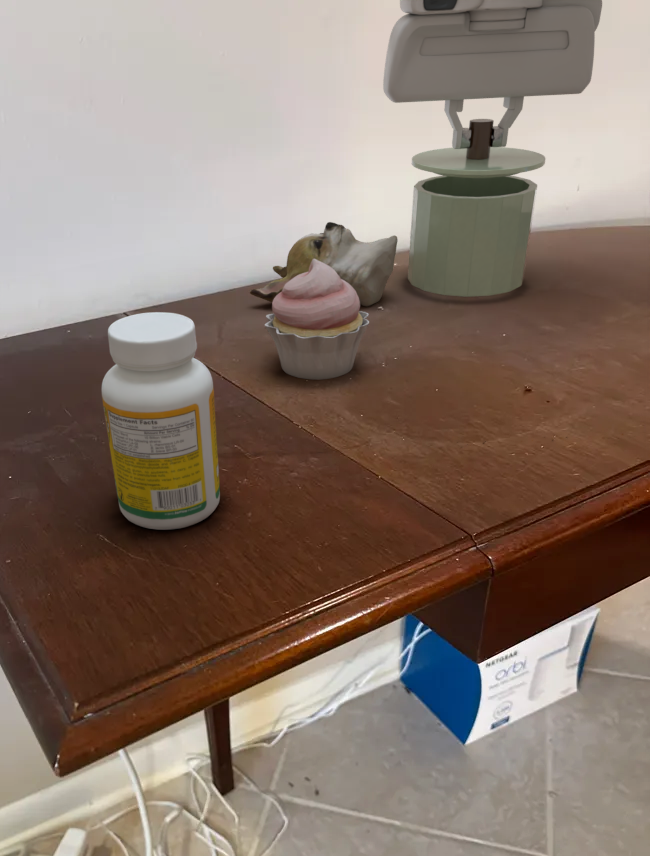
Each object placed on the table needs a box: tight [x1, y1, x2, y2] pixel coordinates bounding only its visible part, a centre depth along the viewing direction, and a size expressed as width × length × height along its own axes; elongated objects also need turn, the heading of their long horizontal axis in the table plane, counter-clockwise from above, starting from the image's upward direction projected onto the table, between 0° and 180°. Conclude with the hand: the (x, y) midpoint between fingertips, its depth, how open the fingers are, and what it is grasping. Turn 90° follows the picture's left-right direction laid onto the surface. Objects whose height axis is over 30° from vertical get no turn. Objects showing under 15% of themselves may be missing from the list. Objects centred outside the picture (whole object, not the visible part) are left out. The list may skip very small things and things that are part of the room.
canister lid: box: [411, 118, 546, 178], centre depth 85 cm, size 14×14×5 cm
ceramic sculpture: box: [248, 221, 398, 307], centre depth 87 cm, size 11×9×15 cm
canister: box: [407, 175, 538, 298], centre depth 90 cm, size 13×13×10 cm
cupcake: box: [264, 259, 370, 381], centre depth 71 cm, size 9×9×10 cm
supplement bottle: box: [100, 311, 221, 531], centre depth 52 cm, size 7×7×13 cm
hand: (478, 147), depth 85 cm, fingers closed on canister lid, 2 cm apart
